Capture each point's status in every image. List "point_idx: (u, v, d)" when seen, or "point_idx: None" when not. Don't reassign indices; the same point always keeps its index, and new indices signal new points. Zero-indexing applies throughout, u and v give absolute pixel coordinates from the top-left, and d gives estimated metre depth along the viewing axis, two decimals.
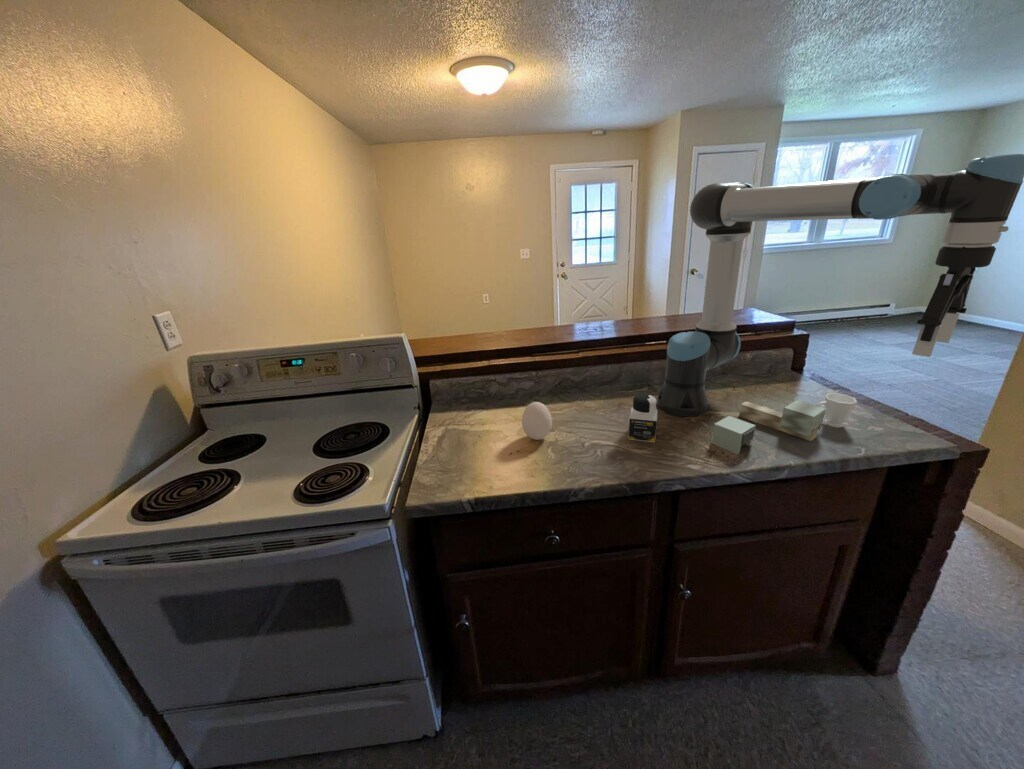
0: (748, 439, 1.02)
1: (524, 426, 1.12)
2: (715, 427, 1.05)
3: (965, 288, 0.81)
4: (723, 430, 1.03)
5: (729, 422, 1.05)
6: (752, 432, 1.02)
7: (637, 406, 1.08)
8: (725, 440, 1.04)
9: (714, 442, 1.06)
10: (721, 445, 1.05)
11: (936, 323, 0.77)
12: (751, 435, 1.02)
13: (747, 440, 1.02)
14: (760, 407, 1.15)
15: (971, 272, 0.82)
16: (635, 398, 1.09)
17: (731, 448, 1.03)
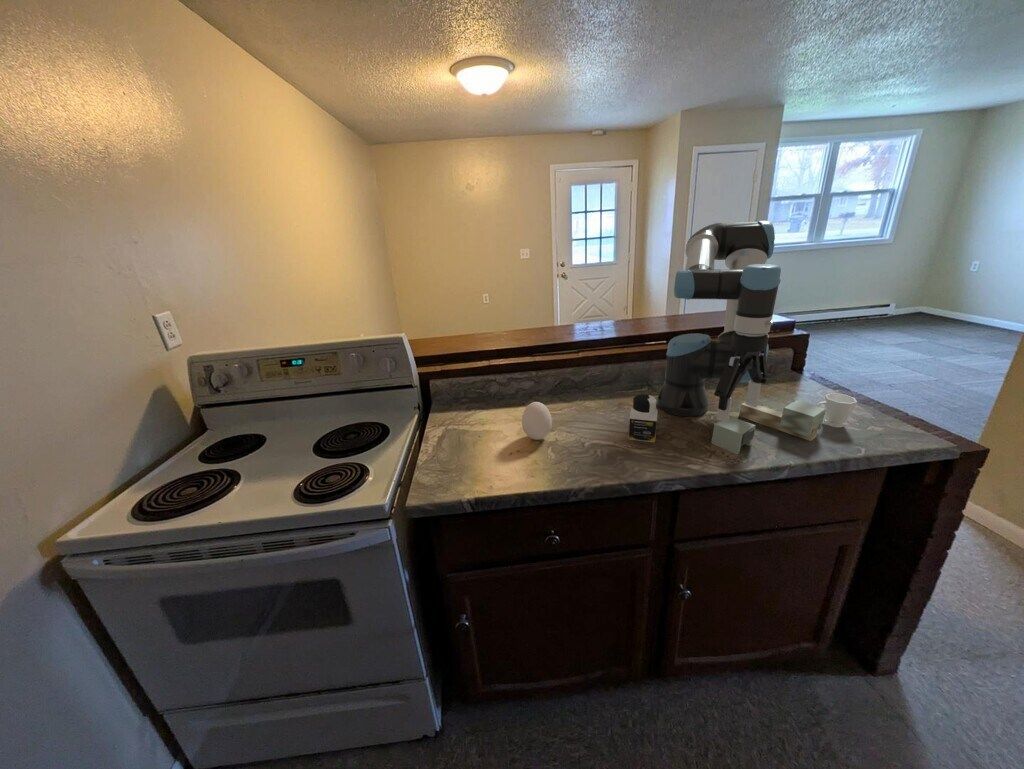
0: (748, 439, 1.02)
1: (524, 426, 1.12)
2: (715, 427, 1.05)
3: (756, 365, 0.98)
4: (723, 430, 1.03)
5: (729, 422, 1.05)
6: (752, 432, 1.02)
7: (637, 406, 1.08)
8: (725, 440, 1.04)
9: (714, 442, 1.06)
10: (721, 445, 1.05)
11: (723, 397, 0.94)
12: (751, 435, 1.02)
13: (747, 440, 1.02)
14: (760, 407, 1.15)
15: (763, 351, 0.98)
16: (635, 398, 1.09)
17: (731, 448, 1.03)
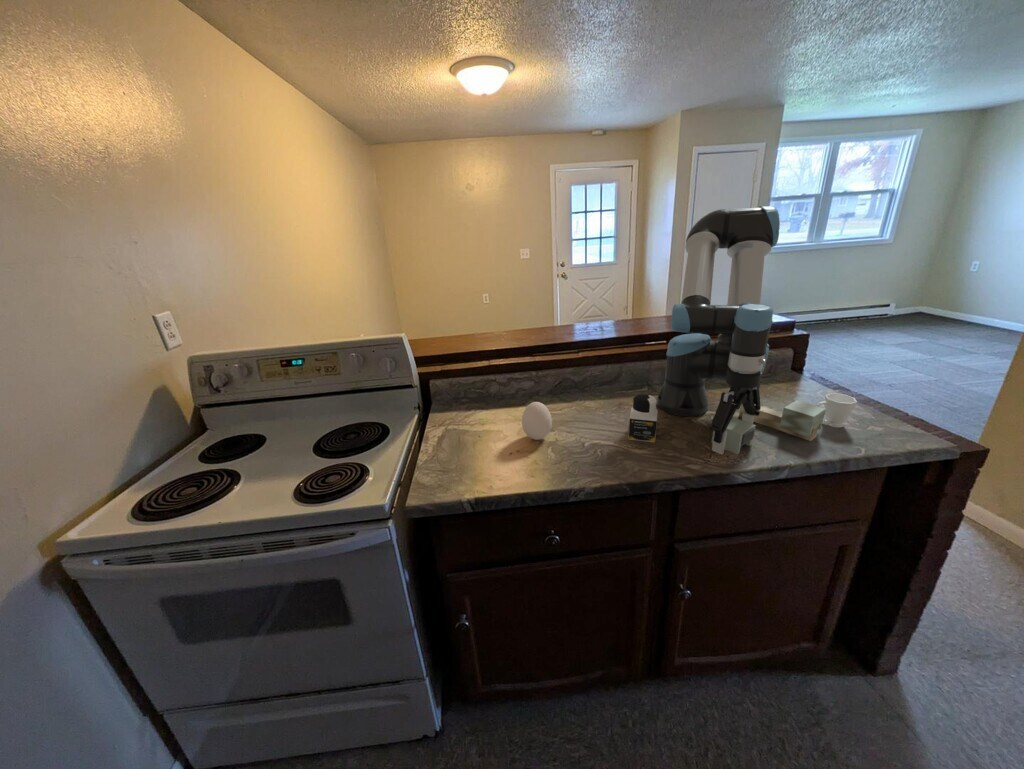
0: (748, 439, 1.02)
1: (524, 426, 1.12)
2: None
3: (749, 399, 1.01)
4: None
5: None
6: (752, 432, 1.02)
7: (637, 406, 1.08)
8: None
9: None
10: None
11: (718, 432, 0.98)
12: (751, 435, 1.02)
13: (747, 440, 1.02)
14: None
15: (756, 385, 1.02)
16: (635, 398, 1.09)
17: (731, 448, 1.03)
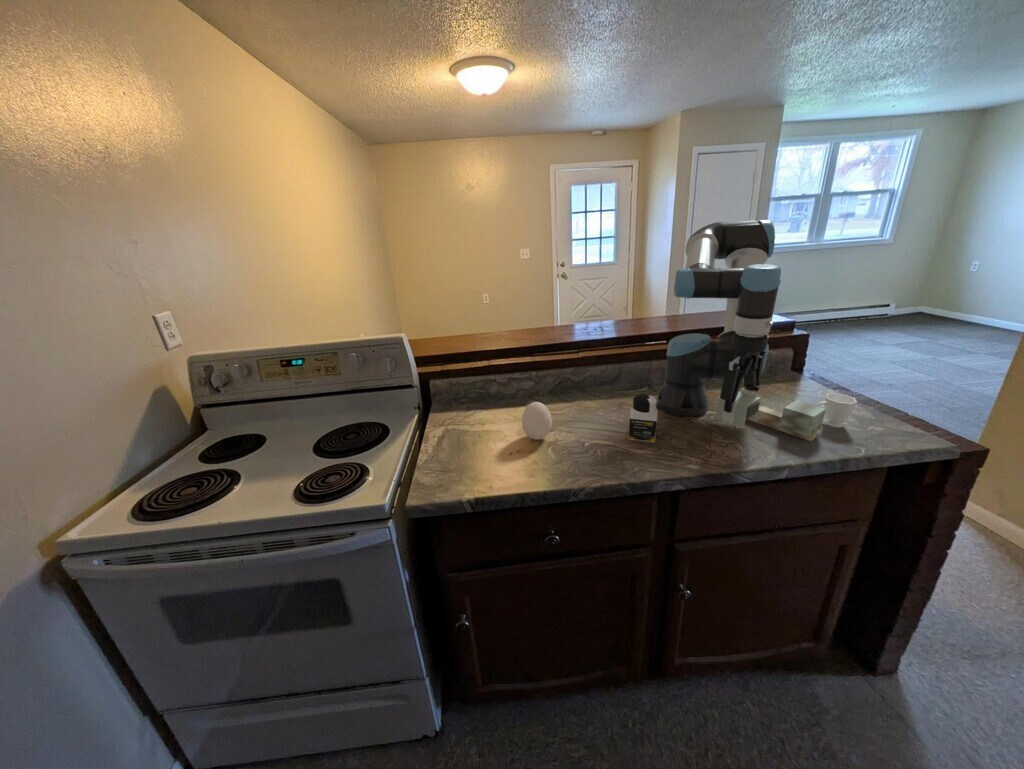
0: (753, 412, 1.00)
1: (524, 426, 1.12)
2: (719, 401, 1.02)
3: (754, 367, 0.98)
4: None
5: None
6: (757, 405, 1.00)
7: (637, 406, 1.08)
8: None
9: (718, 416, 1.04)
10: None
11: (729, 401, 0.97)
12: (756, 408, 1.00)
13: (752, 413, 0.99)
14: (760, 407, 1.15)
15: (762, 354, 0.99)
16: (635, 398, 1.09)
17: (736, 421, 1.00)
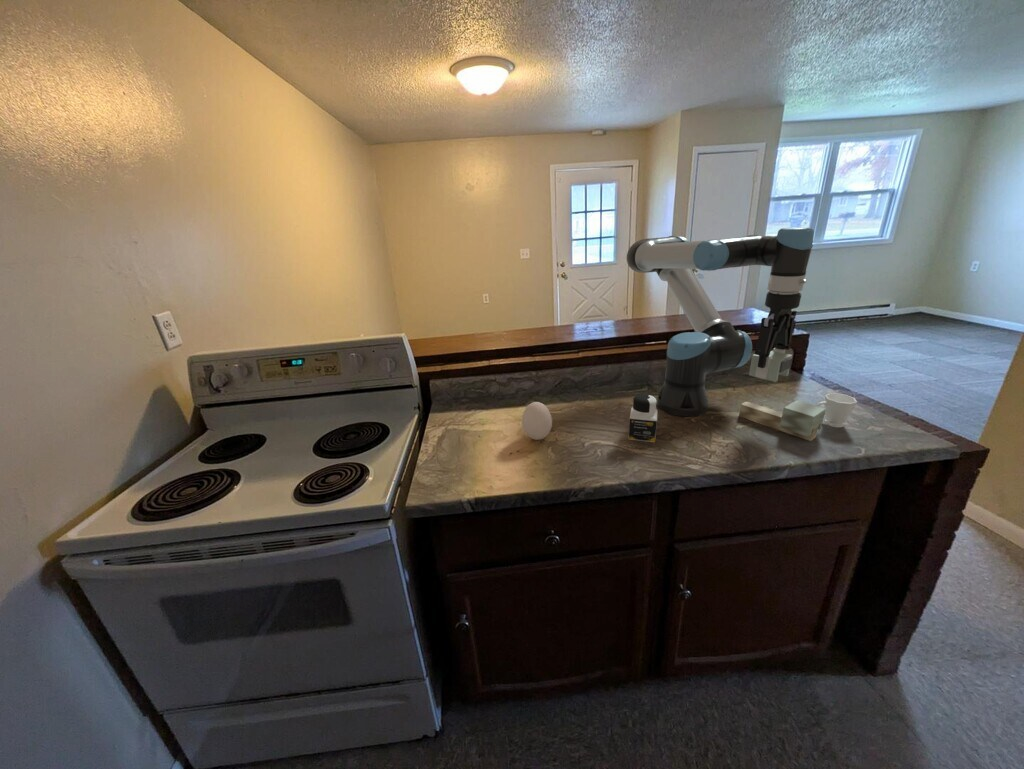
0: (786, 368, 1.07)
1: (524, 426, 1.12)
2: (753, 358, 1.10)
3: (786, 324, 1.05)
4: None
5: None
6: (789, 361, 1.07)
7: (637, 406, 1.08)
8: None
9: (752, 373, 1.11)
10: None
11: (763, 355, 1.04)
12: (788, 364, 1.07)
13: (785, 368, 1.06)
14: (760, 407, 1.15)
15: (793, 314, 1.07)
16: (635, 398, 1.09)
17: (769, 376, 1.07)
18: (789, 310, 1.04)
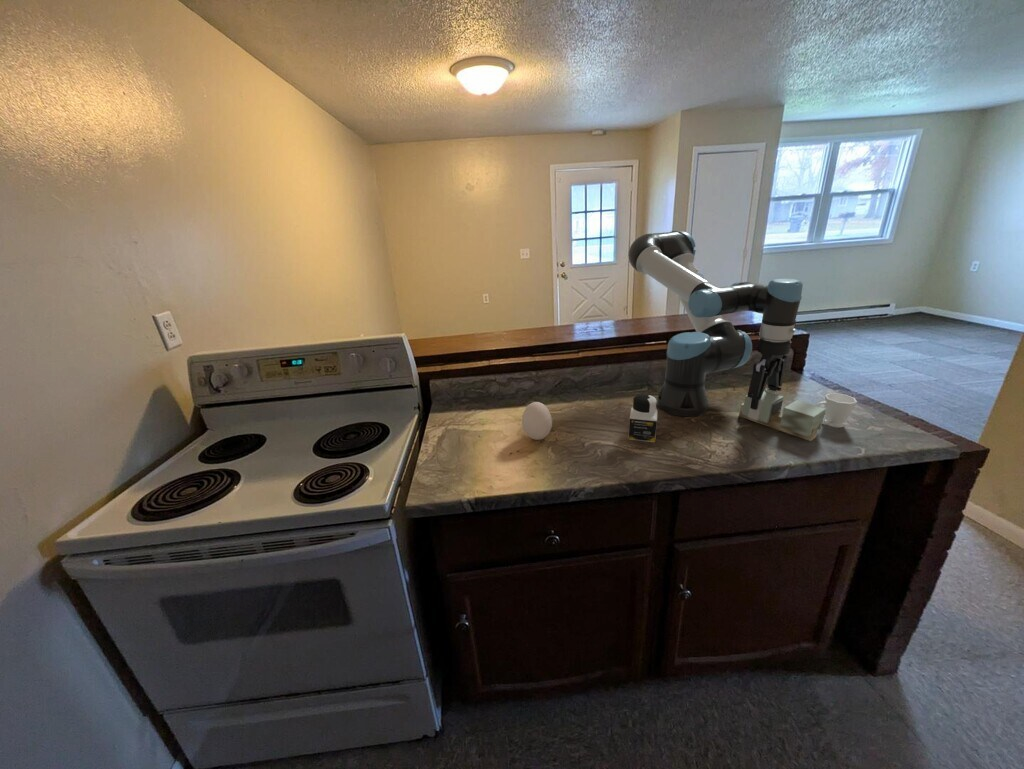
0: (777, 409, 1.11)
1: (524, 426, 1.12)
2: (746, 399, 1.14)
3: (777, 369, 1.10)
4: None
5: None
6: (780, 403, 1.12)
7: (637, 406, 1.08)
8: None
9: (744, 413, 1.16)
10: None
11: (755, 399, 1.09)
12: (779, 405, 1.12)
13: (776, 410, 1.11)
14: None
15: (784, 358, 1.11)
16: (635, 398, 1.09)
17: (761, 417, 1.12)
18: (780, 355, 1.09)
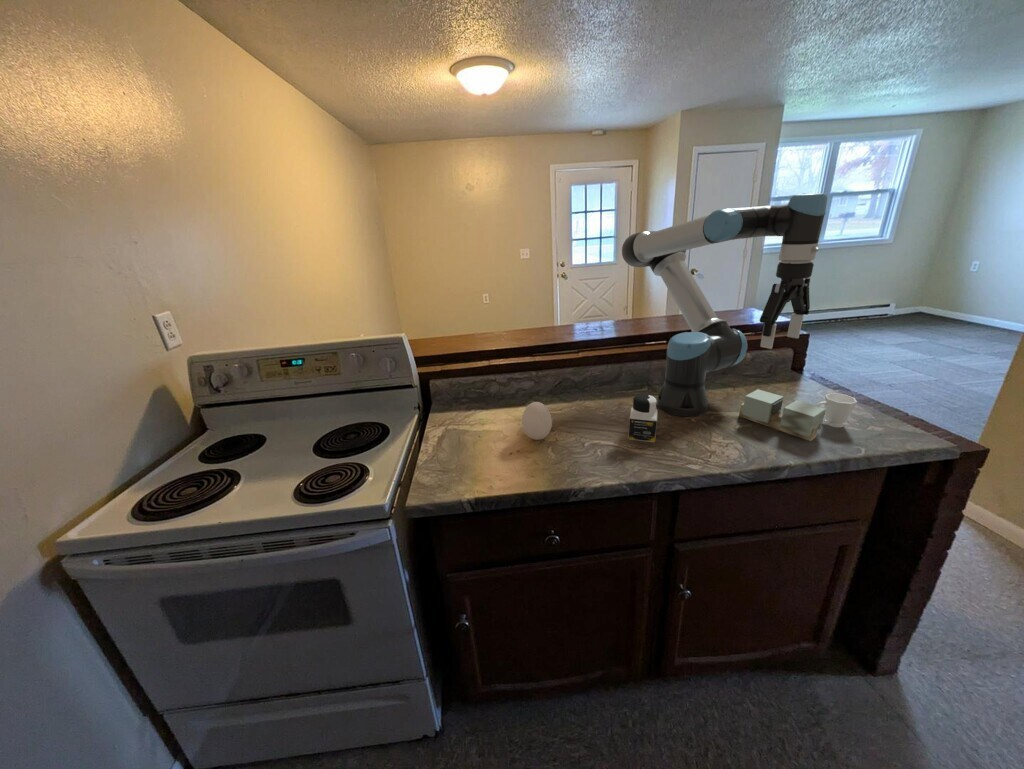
0: (777, 409, 1.11)
1: (524, 426, 1.12)
2: (746, 399, 1.14)
3: (799, 295, 1.03)
4: (754, 401, 1.13)
5: (759, 394, 1.14)
6: (780, 403, 1.12)
7: (637, 406, 1.08)
8: (755, 410, 1.13)
9: (744, 413, 1.16)
10: (751, 415, 1.14)
11: (768, 322, 1.00)
12: (779, 405, 1.12)
13: (776, 410, 1.11)
14: None
15: (806, 282, 1.04)
16: (635, 398, 1.09)
17: (761, 417, 1.12)
18: (800, 282, 1.02)
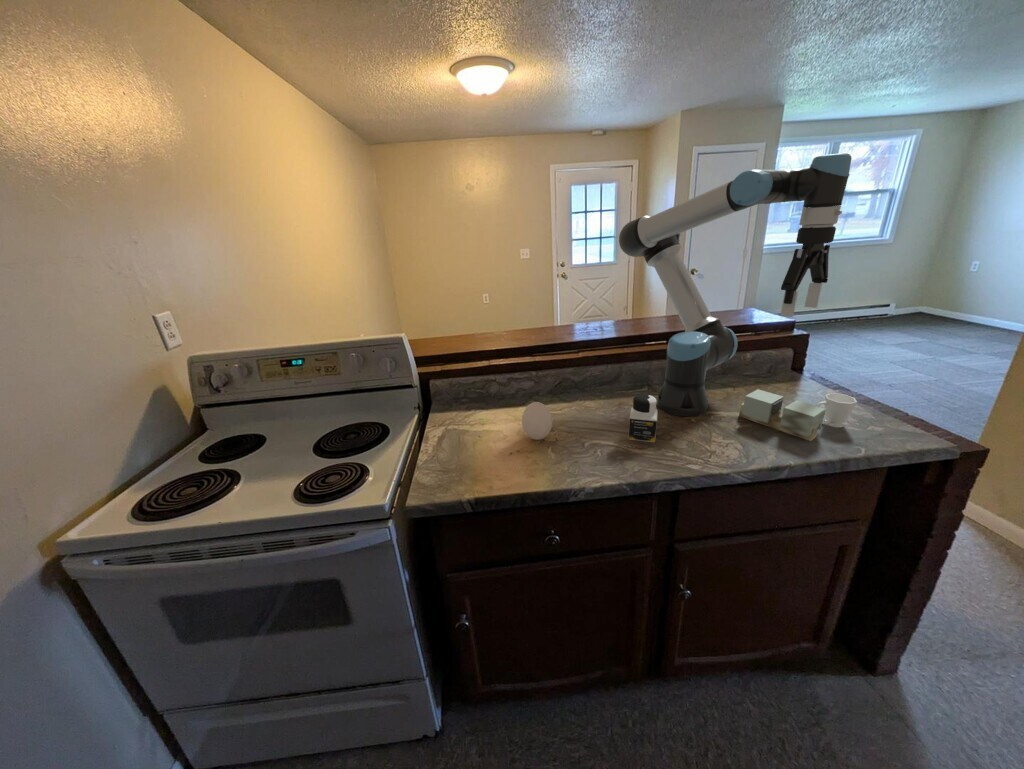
0: (777, 409, 1.11)
1: (524, 426, 1.12)
2: (746, 399, 1.14)
3: (820, 261, 1.01)
4: (754, 401, 1.13)
5: (759, 394, 1.14)
6: (780, 403, 1.12)
7: (637, 406, 1.08)
8: (755, 410, 1.13)
9: (744, 413, 1.16)
10: (751, 415, 1.14)
11: (791, 288, 0.97)
12: (779, 405, 1.12)
13: (776, 410, 1.11)
14: None
15: (826, 248, 1.02)
16: (635, 398, 1.09)
17: (761, 417, 1.12)
18: (821, 248, 1.00)
